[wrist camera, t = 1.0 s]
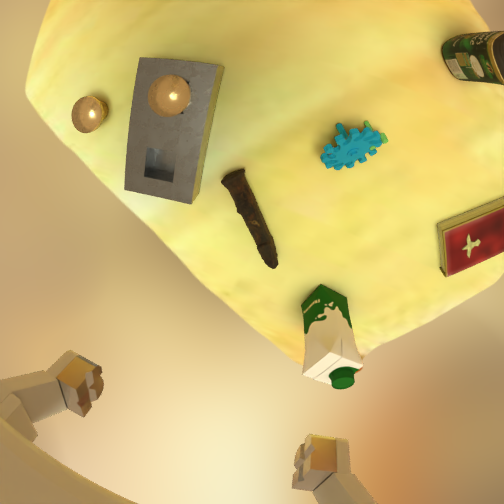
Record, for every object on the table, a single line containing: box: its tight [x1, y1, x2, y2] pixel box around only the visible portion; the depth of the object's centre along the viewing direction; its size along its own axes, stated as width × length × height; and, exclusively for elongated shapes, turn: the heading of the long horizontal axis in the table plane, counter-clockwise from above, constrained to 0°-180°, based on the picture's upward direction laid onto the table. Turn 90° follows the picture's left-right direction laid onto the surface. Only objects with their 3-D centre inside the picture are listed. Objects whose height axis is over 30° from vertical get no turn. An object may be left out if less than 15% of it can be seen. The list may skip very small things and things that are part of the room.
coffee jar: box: [443, 31, 504, 85], centre depth 23 cm, size 10×8×19 cm
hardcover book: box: [437, 197, 504, 277], centre depth 47 cm, size 12×21×4 cm, turn 116°
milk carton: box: [301, 284, 363, 389], centre depth 53 cm, size 9×9×20 cm
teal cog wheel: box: [320, 121, 388, 170], centre depth 41 cm, size 11×6×10 cm
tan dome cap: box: [72, 96, 108, 133], centre depth 41 cm, size 6×6×5 cm
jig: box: [124, 57, 224, 204], centre depth 41 cm, size 22×12×6 cm, turn 167°
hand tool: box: [221, 169, 278, 269], centre depth 50 cm, size 19×4×5 cm, turn 22°
